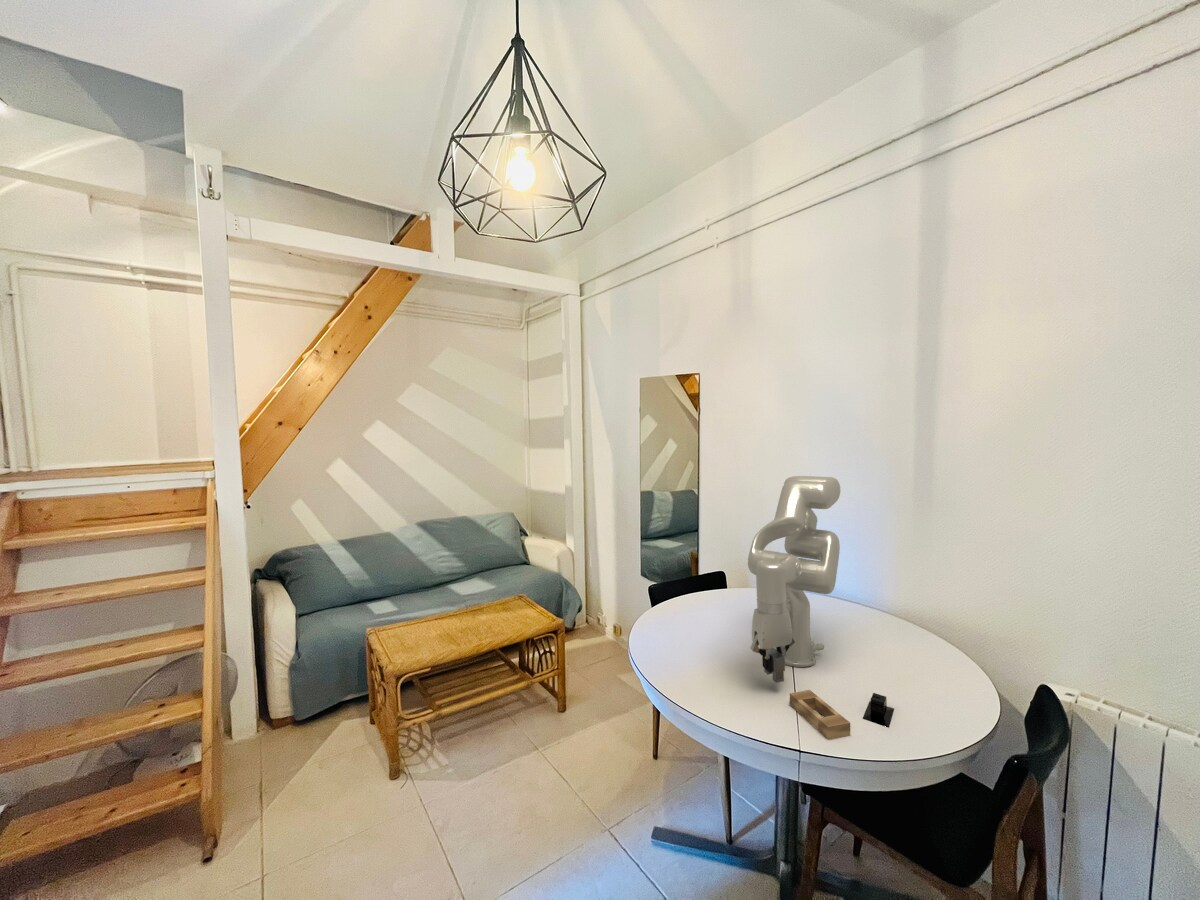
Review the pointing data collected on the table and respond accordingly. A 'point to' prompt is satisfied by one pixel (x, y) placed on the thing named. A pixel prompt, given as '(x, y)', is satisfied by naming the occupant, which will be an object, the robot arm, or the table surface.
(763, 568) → the robot arm
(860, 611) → the table surface
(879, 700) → the black stepped block
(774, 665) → the clip
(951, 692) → the table surface
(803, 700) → the slotted wooden block
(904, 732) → the table surface
